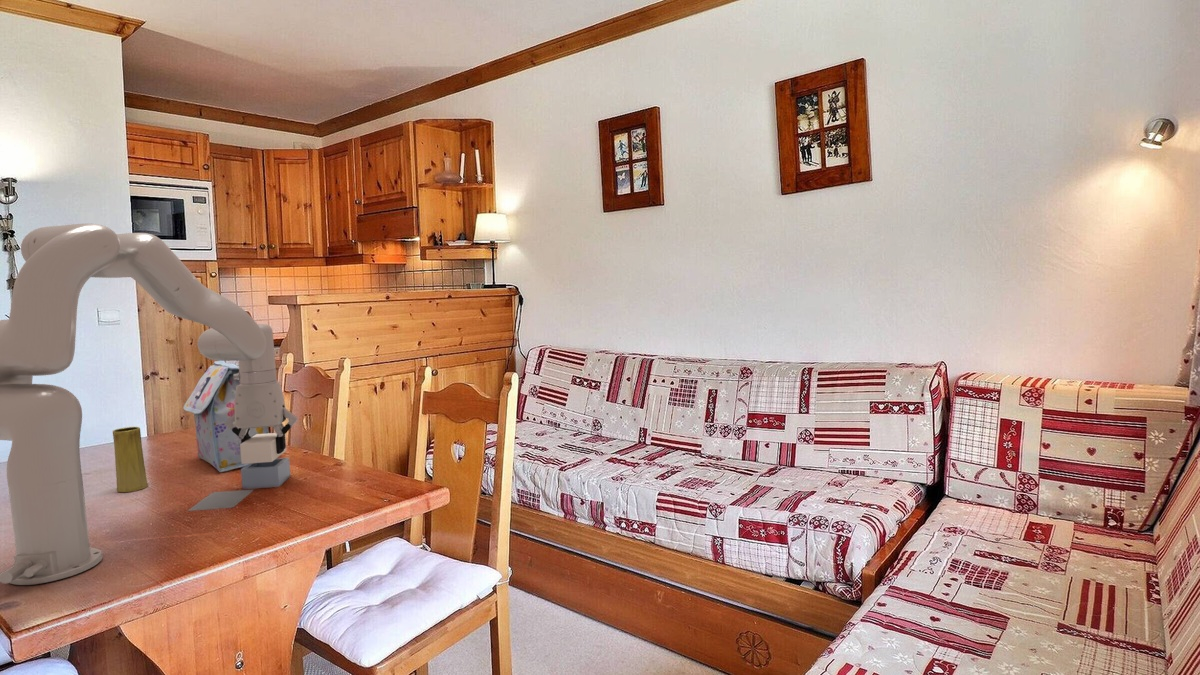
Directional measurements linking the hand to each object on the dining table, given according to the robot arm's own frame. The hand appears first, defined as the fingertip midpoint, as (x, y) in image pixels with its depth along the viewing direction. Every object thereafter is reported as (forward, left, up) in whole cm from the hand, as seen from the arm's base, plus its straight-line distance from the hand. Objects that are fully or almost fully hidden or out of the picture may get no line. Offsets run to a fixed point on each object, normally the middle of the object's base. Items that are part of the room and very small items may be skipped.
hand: (264, 452), depth 156 cm
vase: (+4, +31, -8) cm, 33 cm away
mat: (-11, +5, -8) cm, 14 cm away
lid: (0, 0, -1) cm, 1 cm away
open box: (0, 0, -8) cm, 8 cm away
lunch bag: (+24, +17, -8) cm, 31 cm away
